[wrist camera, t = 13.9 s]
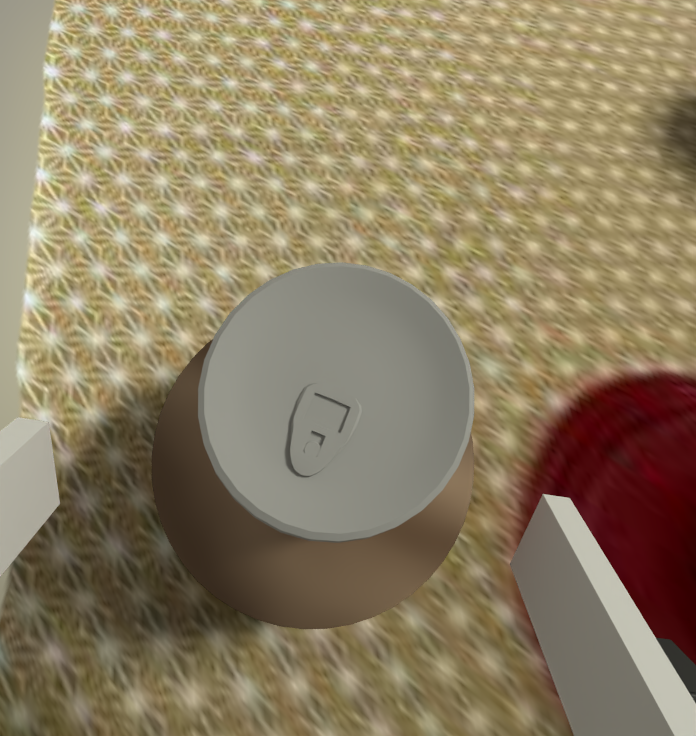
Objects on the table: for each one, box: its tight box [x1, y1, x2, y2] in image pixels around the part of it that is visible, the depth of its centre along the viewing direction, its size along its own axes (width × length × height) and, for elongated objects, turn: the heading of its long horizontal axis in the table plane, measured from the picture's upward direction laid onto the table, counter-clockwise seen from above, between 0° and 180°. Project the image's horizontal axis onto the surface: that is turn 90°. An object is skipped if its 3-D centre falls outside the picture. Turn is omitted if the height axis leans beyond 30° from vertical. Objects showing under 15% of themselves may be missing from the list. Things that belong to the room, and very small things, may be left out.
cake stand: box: [152, 340, 474, 629], centre depth 26 cm, size 16×16×7 cm
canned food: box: [198, 263, 474, 543], centre depth 17 cm, size 8×8×11 cm
